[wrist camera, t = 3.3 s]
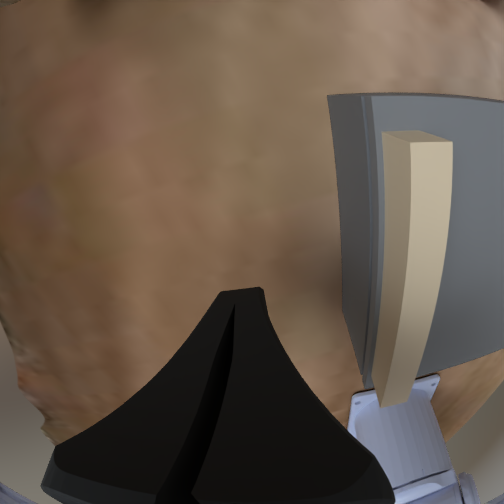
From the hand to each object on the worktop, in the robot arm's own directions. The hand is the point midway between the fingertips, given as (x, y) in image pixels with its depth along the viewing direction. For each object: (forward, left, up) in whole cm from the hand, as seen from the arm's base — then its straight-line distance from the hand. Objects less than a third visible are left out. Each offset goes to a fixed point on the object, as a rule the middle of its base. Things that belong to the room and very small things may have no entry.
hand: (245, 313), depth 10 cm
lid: (0, -11, -1) cm, 11 cm away
